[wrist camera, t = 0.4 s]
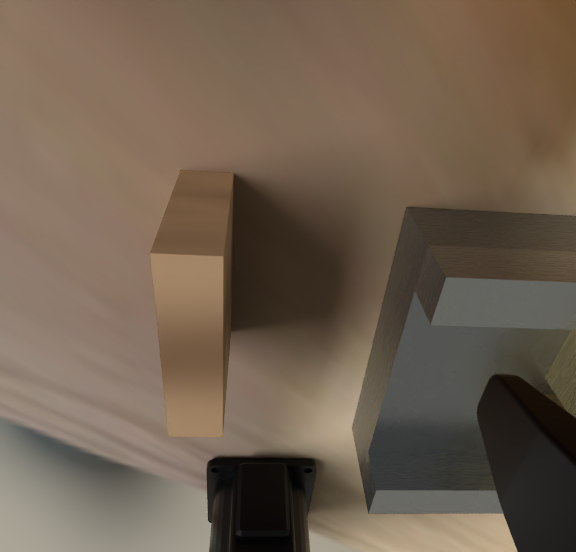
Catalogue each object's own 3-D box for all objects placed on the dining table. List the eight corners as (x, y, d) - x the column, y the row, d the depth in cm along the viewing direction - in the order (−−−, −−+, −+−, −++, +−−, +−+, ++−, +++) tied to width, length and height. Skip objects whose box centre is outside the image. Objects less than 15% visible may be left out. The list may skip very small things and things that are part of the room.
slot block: (613, 431, 28) (673, 512, 24) (352, 427, 27) (368, 513, 23) (765, 226, 20) (891, 295, 16) (406, 207, 19) (446, 277, 15)
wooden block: (231, 330, 23) (222, 437, 18) (188, 329, 22) (168, 436, 17) (233, 172, 18) (223, 256, 13) (180, 169, 18) (150, 253, 13)
